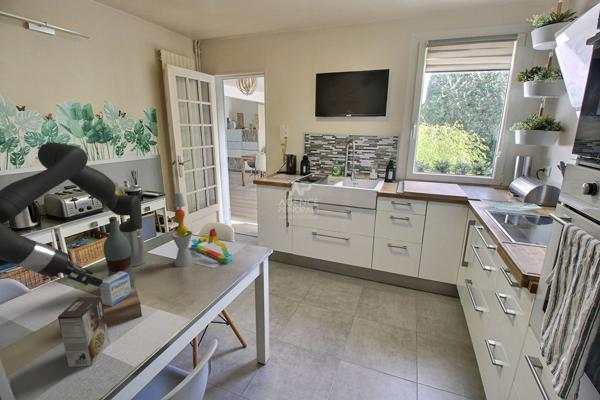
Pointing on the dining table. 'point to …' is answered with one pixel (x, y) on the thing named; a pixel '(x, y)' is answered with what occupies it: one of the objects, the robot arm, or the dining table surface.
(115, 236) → the bottle
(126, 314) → the walnut block
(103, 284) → the medicine box
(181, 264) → the lava lamp
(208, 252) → the rainbow clothes hanger
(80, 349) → the coffee box
